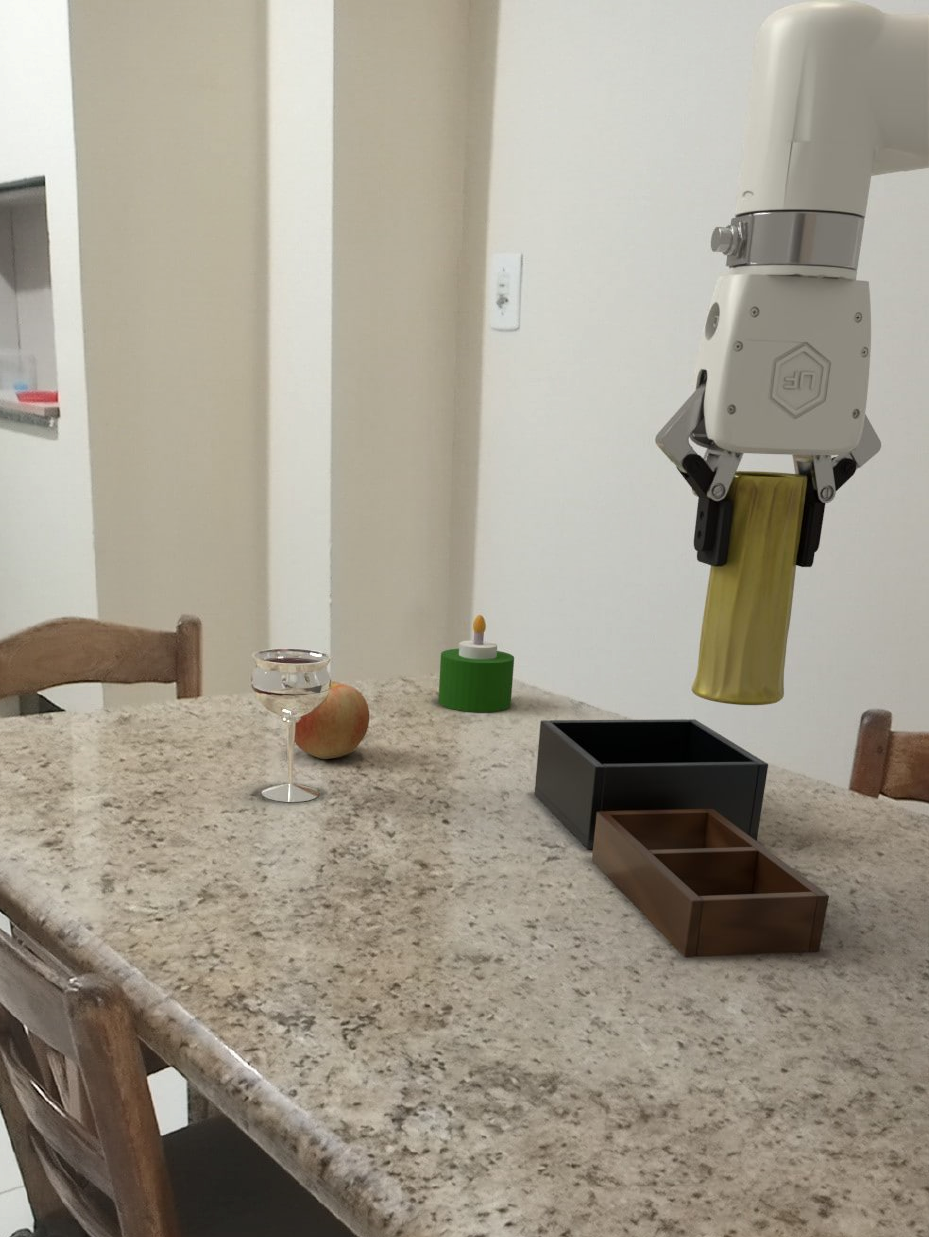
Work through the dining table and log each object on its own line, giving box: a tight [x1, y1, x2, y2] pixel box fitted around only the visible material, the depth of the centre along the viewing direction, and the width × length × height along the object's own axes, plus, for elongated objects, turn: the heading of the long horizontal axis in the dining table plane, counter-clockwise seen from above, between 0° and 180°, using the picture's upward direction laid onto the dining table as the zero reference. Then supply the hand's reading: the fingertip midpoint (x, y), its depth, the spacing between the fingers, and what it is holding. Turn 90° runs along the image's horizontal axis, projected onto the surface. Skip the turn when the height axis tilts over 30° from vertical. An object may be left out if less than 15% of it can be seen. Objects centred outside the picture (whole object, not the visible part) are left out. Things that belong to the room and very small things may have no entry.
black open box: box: [534, 718, 769, 850], centre depth 110 cm, size 15×15×7 cm
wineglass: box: [250, 647, 332, 803], centre depth 111 cm, size 7×7×12 cm
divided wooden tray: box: [591, 809, 830, 958], centre depth 93 cm, size 10×18×4 cm, turn 12°
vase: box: [691, 470, 807, 706], centre depth 85 cm, size 6×6×14 cm
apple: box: [295, 681, 370, 760], centre depth 124 cm, size 8×8×8 cm
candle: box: [437, 614, 515, 713], centre depth 146 cm, size 8×8×10 cm
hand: (754, 561), depth 84 cm, fingers closed on vase, 5 cm apart
